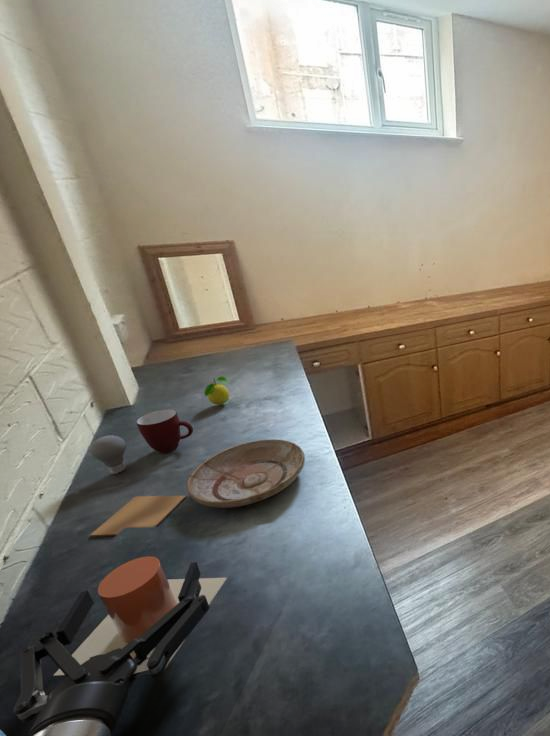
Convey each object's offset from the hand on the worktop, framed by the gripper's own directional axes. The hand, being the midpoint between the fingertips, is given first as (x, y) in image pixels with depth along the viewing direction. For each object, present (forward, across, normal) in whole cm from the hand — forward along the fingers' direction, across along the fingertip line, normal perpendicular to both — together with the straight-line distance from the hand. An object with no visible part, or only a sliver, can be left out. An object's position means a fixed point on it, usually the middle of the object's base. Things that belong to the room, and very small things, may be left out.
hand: (144, 582), depth 63 cm
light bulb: (+47, -22, -7) cm, 52 cm away
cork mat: (+27, -11, -7) cm, 30 cm away
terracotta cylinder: (-2, 0, -6) cm, 6 cm away
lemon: (+78, -6, -7) cm, 78 cm away
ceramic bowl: (+30, +10, -7) cm, 33 cm away
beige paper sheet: (-2, 0, -7) cm, 7 cm away
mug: (+54, -12, -7) cm, 56 cm away
